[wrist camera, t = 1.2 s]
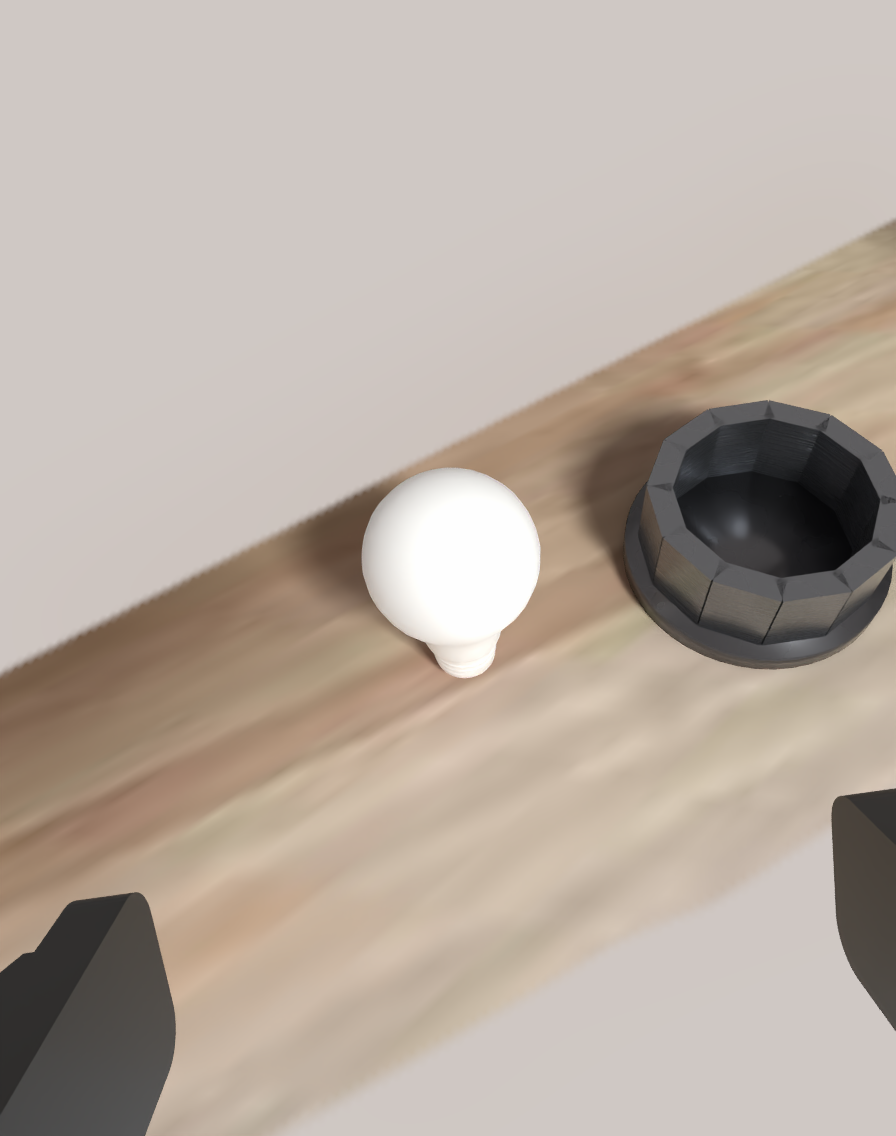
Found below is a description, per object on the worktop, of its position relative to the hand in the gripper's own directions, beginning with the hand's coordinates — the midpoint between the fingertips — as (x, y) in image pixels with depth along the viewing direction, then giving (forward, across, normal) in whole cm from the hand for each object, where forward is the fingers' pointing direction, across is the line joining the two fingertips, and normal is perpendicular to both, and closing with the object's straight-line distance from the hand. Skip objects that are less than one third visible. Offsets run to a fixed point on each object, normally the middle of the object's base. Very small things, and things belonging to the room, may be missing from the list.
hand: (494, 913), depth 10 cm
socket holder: (+28, -13, +3) cm, 31 cm away
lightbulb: (+26, 0, +6) cm, 26 cm away
